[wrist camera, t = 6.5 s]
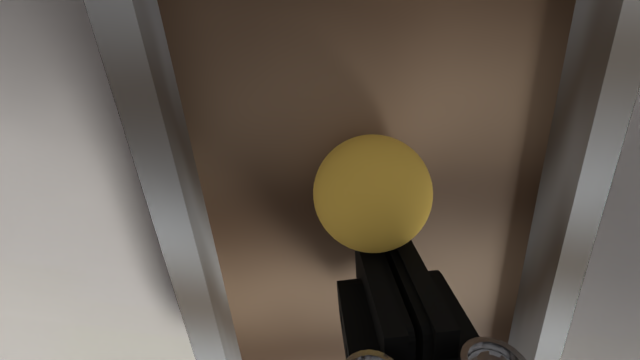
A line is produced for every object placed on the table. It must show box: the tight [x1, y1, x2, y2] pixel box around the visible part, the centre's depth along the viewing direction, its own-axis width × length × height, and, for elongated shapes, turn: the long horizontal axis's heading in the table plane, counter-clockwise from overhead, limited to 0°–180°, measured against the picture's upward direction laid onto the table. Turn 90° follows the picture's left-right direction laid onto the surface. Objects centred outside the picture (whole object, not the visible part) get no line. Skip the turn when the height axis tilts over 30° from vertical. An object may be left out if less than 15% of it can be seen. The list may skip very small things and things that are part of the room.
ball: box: [313, 134, 433, 253], centre depth 9 cm, size 3×3×3 cm
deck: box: [83, 0, 640, 360], centre depth 10 cm, size 24×13×4 cm, turn 4°
